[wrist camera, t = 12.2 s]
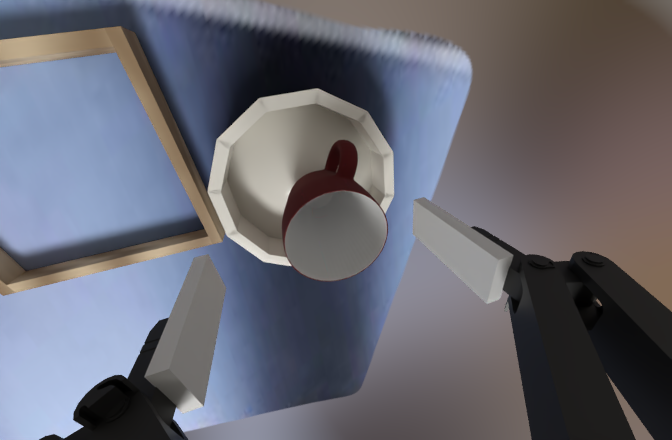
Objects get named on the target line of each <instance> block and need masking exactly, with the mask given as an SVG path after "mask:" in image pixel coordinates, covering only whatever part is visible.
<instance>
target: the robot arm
mask: <svg viewBox="0 0 672 440" xmlns="http://www.w3.org/2000/svg"><path fill="white" fill-rule="evenodd" d="M413 235H414V236H415V237H416V238H417V239H418V240H420V241H421V242H422V243H423V244H424V245H425V246H426V247H427V248H428V249H429V250H430V251H431V252H432V253H433V254H434V255H435V256H436V257H438V258H439V259H440V260H441V261H442V262H443V263H444V264H445V265H446V266H447V267H448V268H449V269H450V270H451V271H453V273H455V274H456V275H457V276H458V277H459V278H460V279H461V280H462V281H463V282H464V283H465V284H466V285H467V286H468V287H469V288H470V289H472V290H473V291H474V292H475V293H476V294H477V295H478V296H479V297H480V298H481V299H482V300H483V301H484V302H485V303H487V304H488V303H490V302H493V301H496V300H498V299H500V297H501V294H502V291H503V290H504V291H505V292H506V293H507V294H509V297H508V300H507V303H506V306H505V310H504V311H506V312H507V311H508V308H509V310H510V316H511V322H512V328H513V333H514V339H515V345H516V350H517V357H518V362H519V368H520V373H521V380H522V386H523V391H524V397H525V403H526V408H527V415H528V420H529V426H530V431H531V437H532V440H636V439H635V437H634V435H633V432H632V430H631V428H630V426H629V423H628V421H627V419H626V417H625V415H624V412H623V410H622V408H621V405H620V403H619V401H618V399H617V397H616V394H615V392H614V390H613V387H612V385H611V383H610V381H609V379H608V376H609V377H610V379H611V380H612V382H613V383H614V384H615V386H616V387H617V389H618V390H619V391H620V393H621V394H622V395H623V397H624V398H625V400H626V401H627V402H628V404H629V405H630V407H631V408H632V409H633V411H634V412H635V414H636V415H637V416H638V418H639V419H640V420H641V422H642V423H643V425H644V426H645V427H646V428H647V430H648V431H649V433H650V434H651V436H652V437H653V438H654V440H672V312H671V311H670V310H669V309H668V308H666V307H665V306H664V305H663V304H662V303H661V302H659V301H658V300H657V299H656V298H655V297H654V296H652V295H651V294H650V293H649V292H648V291H646V290H645V289H644V288H643V287H642V286H641V285H639V284H638V283H637V282H636V281H635V280H634V279H632V278H631V277H630V276H629V275H628V274H627V273H625V272H624V271H623V270H622V269H621V268H619V267H618V266H617V265H616V264H615V263H614V262H612V261H611V260H609V259H608V258H606V257H604V256H601V255H599V254H596V253H592V252H584V251H582V252H576V253H574V254H573V255H572V257H571V260H570V261H561V262H560V261H559V262H554V261H552V260H551V259H548V258H546V257H544V256H540V255H530V254H529V255H524V254H523V253H521V252H519V251H518V250H516V249H515V248H513V247H512V246H510V245H508V244H507V243H505V242H503V241H502V240H499V238H497V237H495V236H493V235H492V234H490V233H489V232H487V231H485V230H484V229H481V228H478V227H475V226H474V227H469V226H468V225H466V224H464V223H463V222H461V221H459V220H458V219H457V218H455V217H454V216H452V215H451V214H449V213H448V212H446V211H444V210H443V209H441V208H440V207H438V206H437V205H435V204H434V203H432V202H431V201H429V200H427V199H426V198H424V197H423V198H420V199H416V200H414V209H413ZM225 291H226V287H225V285H224V283H223V281H222V279H221V278H220V276H219V274H218V272H217V270H216V268H215V266H214V264H213V262H212V261H211V259H210V257H209V255H208V254H207V255H203V256H199V257H196V258H194V259H193V262H192V264H191V267H190V269H189V271H188V274H187V276H186V279H185V281H184V283H183V286H182V288H181V290H180V293H179V295H178V298H177V300H176V302H175V305H174V307H173V310H172V312H171V314H170V317H169V318H166V319H163V320H159V321H158V323H157V324H156V325H155V326H154V327H153V329H152V330H151V331H150V332H149V334H148V337H147V339H146V341H145V345H143V347H142V349H141V351H140V355H139V356H138V358H137V360H136V362H135V364H134V366H133V368H132V370H131V372H130V374H129V377H128V379H127V378H125V377H124V376H122V375H114V376H112V377H109V378H107V379H105V380H103V381H102V382H100V383H99V384H97V385H96V386H94V387H93V388H92V389H91V390H90V391H89V392H88V393H87V394H86V395H85V396H84V397H83V398H82V400H81V401H80V402H79V403H78V405H77V407H76V409H75V411H74V417H73V420H74V421H76V422H78V423H79V424H81V425H82V426H84V427H82V428H81V429H79V430H78V431H76V432H74V433H73V434H71V435H69V436H68V437H66V438H64V439H63V438H61V437H59V436H57V435H55V434H53V435H49V436H45V437H43V438H41V439H39V440H188V439H187V437H186V436H185V434H184V433H183V431H182V430H181V428H180V427H179V425H178V424H177V423H176V421H174V420H173V416H174V412H175V409H176V407H177V408H178V409H179V410H180V411H181V412H182V413H183V414H184V413H186V412H189V411H192V410H195V409H197V408H200V407H203V406H204V401H205V396H206V391H207V386H208V380H209V375H210V370H211V365H212V359H213V354H214V349H215V344H216V338H217V333H218V328H219V323H220V317H221V312H222V307H223V302H224V296H225ZM596 299H598V300H599V301H600V302H601V304H602V306H600V305H599V304H598V303H597V301H596ZM606 373H607V374H606ZM607 375H608V376H607Z"/></svg>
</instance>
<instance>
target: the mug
mask: <svg viewBox="0 0 672 440" xmlns="http://www.w3.org/2000/svg"><path fill="white" fill-rule="evenodd" d="M357 164H358V153H357V149H356V147H355V145H354V144H353V143H352V142H350V141H348V140H338V141H336V142H335V143H334V144H333V145H332V147H331V149H330V152H329V154H328V158H327V161H326V165H325V169H323V170H318V171H314V172H310V173H308V174H306V175H304V176H303V177H301V178H300V179H299V180H298V181H297V182H296V183H295V184H294V186H293V187H292V189H291V191H290V193H289V196H288V200H287V203H286V206H285V209H284V213H283V218H282V239H283V246H284V251H285V254H286V257H287V259H288V261H289V263H290V264H291V265H292V267H293V268H294V269H295V270H296V271H298V272H299V273H300V274H302V275H304V276H306V277H308V278H310V279H314V280H318V281H338V280H343V279H347V278H349V277H352V276H354V275H356V274H358V273H360V272H362V271H363V270H365V269H366V268H367V267H368V266H370V265H371V264H372V263H373V262H374V261H375V260H376V258H377V257H378V256H379V254H380V253H381V251H382V249H383V247H384V245H385V243H386V239H387V234H388V224H387V219H386V216H385V213H384V211H383V209H382V208H381V206H380V205H379V204H378V203H377V201H376V200H375V199H374V198H373V197H372V196H371V195H370V194H369V193H368V192H367V191H366V190H365V189H364V188H363V187H362V186H361V185H359V184H358V183H357V182H356V181H355V180H354V176H355V173H356V169H357ZM337 168H338V170H337ZM336 171H337V173H336Z"/></svg>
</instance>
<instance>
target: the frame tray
mask: <svg viewBox="0 0 672 440" xmlns="http://www.w3.org/2000/svg"><path fill="white" fill-rule="evenodd" d="M115 52H116V53H117V55H118V57H119V59H120V61H121V63H122V65H123V67H124V69H125V71H126V73H127V75H128V77H129V79H130V81H131V83H132V85H133V87H134V89H135V91H136V93H137V95H138V97H139V99H140V101H141V103H142V105H143V107H144V109H145V111H146V113H147V115H148V117H149V119H150V121H151V123H152V125H153V127H154V129H155V131H156V133H157V135H158V137H159V139H160V141H161V142H162V144H163V146H164V148H165V150H166V152H167V154H168V156H169V158H170V160H171V162H172V164H173V166H174V168H175V170H176V172H177V174H178V176H179V178H180V180H181V182H182V184H183V186H184V188H185V190H186V192H187V194H188V196H189V198H190V200H191V202H192V204H193V206H194V208H195V210H196V212H197V214H198V216H199V218H200V220H201V222H202V224H203V226H204V228H205V229H202V230H198V231H194V232H189V233H185V234H181V235H177V236H172V237H168V238H164V239H160V240H156V241H151V242H147V243H143V244H139V245H134V246H130V247H126V248H122V249H117V250H113V251H109V252H105V253H100V254H96V255H92V256H88V257H83V258H79V259H75V260H71V261H66V262H62V263H58V264H54V265H50V266H45V267H41V268H37V269H33V270H28V271H25V270H24V269H23V268H22V267H21V266H20V265H19V264H18V263H17V262H15V261H14V260H13V259H12V258H11V257H10V256H9V255H8V254H7V253H6V252H5V251H4V250H3V249H2V248H1V247H0V294H2V295H3V296H4V295H8V294H12V293H16V292H20V291H24V290H28V289H32V288H37V287H41V286H45V285H49V284H53V283H57V282H61V281H65V280H69V279H73V278H77V277H81V276H85V275H89V274H93V273H98V272H102V271H106V270H110V269H114V268H118V267H122V266H126V265H130V264H134V263H138V262H142V261H146V260H150V259H155V258H159V257H163V256H167V255H171V254H175V253H179V252H183V251H187V250H191V249H195V248H199V247H203V246H207V245H212V244H216V243H220V242H222V241H223V238H224V235H225V230H224V228H223V226H222V224H221V222H220V219H219V217H218V215H217V213H216V210H215V208H214V206H213V204H212V202H211V199H210V197H209V195H208V193H207V191H206V188H205V186H204V184H203V182H202V180H201V177H200V175H199V173H198V171H197V169H196V166H195V164H194V162H193V160H192V158H191V155H190V153H189V151H188V149H187V146H186V144H185V142H184V140H183V138H182V135H181V133H180V131H179V129H178V127H177V124H176V122H175V120H174V118H173V116H172V113H171V111H170V109H169V107H168V105H167V102H166V100H165V98H164V96H163V93H162V91H161V89H160V87H159V85H158V82H157V80H156V78H155V76H154V74H153V71H152V69H151V67H150V65H149V63H148V60H147V58H146V56H145V54H144V52H143V49H142V47H141V45H140V43H139V40H138V38H137V36H136V34H135V32H132V31H130V30H128V29H126V28H123V27H121V26H117V27H109V28H100V29H91V30H82V31H74V32H65V33H56V34H48V35H39V36H30V37H22V38H13V39H4V40H0V67H6V66H14V65H22V64H30V63H37V62H45V61H53V60H61V59H69V58H76V57H84V56H92V55H100V54H107V53H115Z"/></svg>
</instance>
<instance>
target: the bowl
mask: <svg viewBox="0 0 672 440" xmlns="http://www.w3.org/2000/svg"><path fill="white" fill-rule="evenodd" d="M338 140H348V141H350V142H352V143H353V144H354V145H355V147H356V149H357V153H358V164H357V169H356V173H355V176H354V180H355V181H356V182H357V183H358V184H359V185H361V186H362V187H363V188H364V189H365V190H366V191H367V192H368V193H369V194H370V195H371V196H372V197H373V198H374V199H375V200H376V201H377V203H378V204H379V205H380V206H381V208H382V209H383V211H384V213H386V211H387V209H388V207H389V205H390V203H391V201H392V199H393V197H394V169H393V151H392V150H391V148H390V146H389V145H388V143H387V142H386V140H385V138H384V137H383V135H382V134H381V132H380V130H379V129H378V127H377V126H376V124H375V122H374V121H373V119H372V118H371V116H370V114H369V113H368V111H366V110H364V109H361V108H359V107H357V106H355V105H353V104H351V103H348V102H346V101H344V100H342V99H340V98H337V97H335V96H333V95H331V94H329V93H327V92H324V91H322V90H320V89H318V88H316V89H309V90H303V91H297V92H291V93H285V94H279V95H273V96H267V97H260V98H259V99H258V100H257V101H256V102H255V103H254V104H252V105H251V106H250V107H249V108H248V109H247V110H246V111H245V112H244V113H243V114H242V115H241V116H240V117H239V118H238V119H237V120H236V121H235V122H234V123H233V124H232V125H231V126H230V127H229V128H228V129H227V130H226V131H225V132H224V133H223V134H222V135H221V136H220V137H219V138H217V141H216V147H215V152H214V158H213V164H212V169H211V175H210V181H209V186H208V194H209V197H210V199H211V201H212V203H213V206H214V208H215V210H216V212H217V214H218V217H219V219H220V221H221V223H222V225H223V228H224V230H225V232H226V234H227V236H228V237H229V238H231V239H232V240H233V241H235V242H236V243H238V244H239V245H241V246H242V247H243V248H245V249H246V250H248V251H249V252H251V253H252V254H253V255H255V256H256V257H258V258H259V259H260V260H262V261H263V262H268V263H275V264H281V265H288V266H292V265H291V264H290V263H289V261H288V259H287V257H286V254H285V251H284V246H283V239H282V218H283V213H284V209H285V206H286V203H287V200H288V196H289V193H290V191H291V189H292V187H293V186H294V184H295V183H296V182H297V181H298V180H299V179H300V178H301V177H303V176H304V175H306V174H308V173H310V172H314V171H318V170H323V169H325V165H326V161H327V158H328V154H329V152H330V149H331V147H332V145H333V144H334V143H335V142H336V141H338ZM337 170H338V168H337ZM336 173H337V171H336Z"/></svg>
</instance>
